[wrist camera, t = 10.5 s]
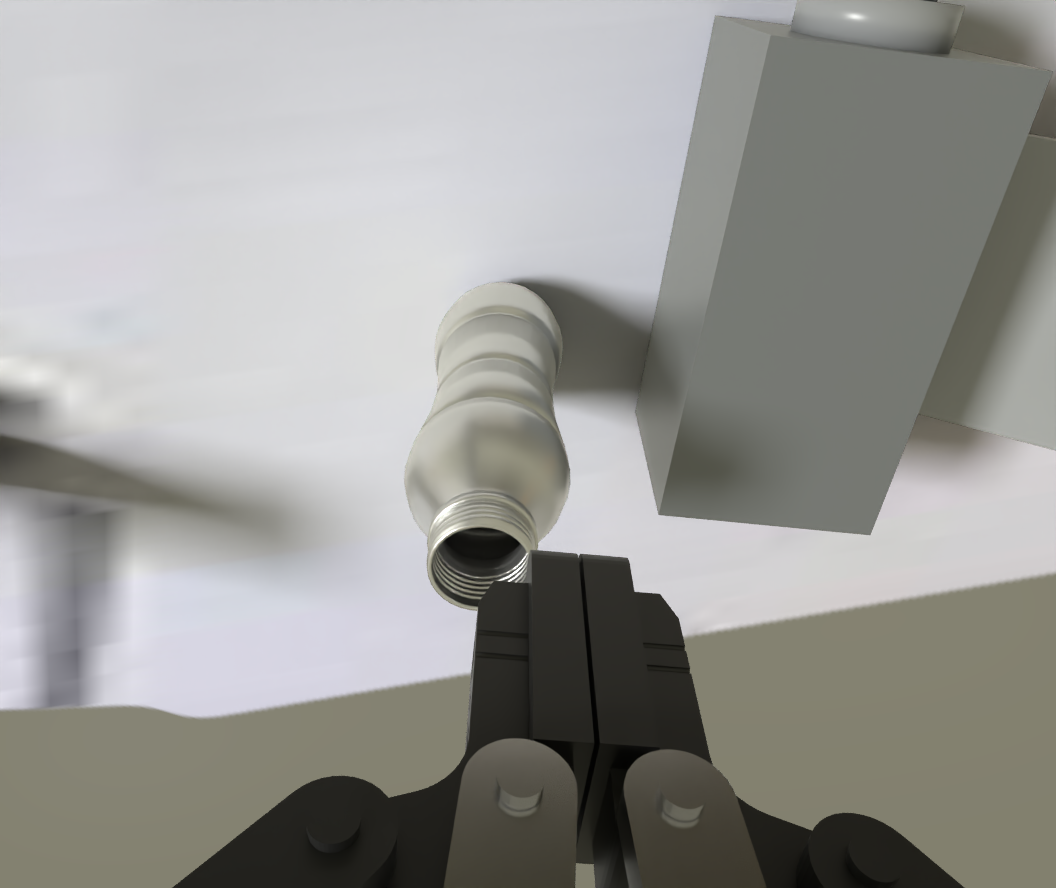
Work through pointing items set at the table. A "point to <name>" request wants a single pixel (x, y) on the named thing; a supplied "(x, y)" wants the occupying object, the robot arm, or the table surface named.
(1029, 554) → the table surface
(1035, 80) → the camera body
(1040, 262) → the side door
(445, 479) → the plastic bottle
